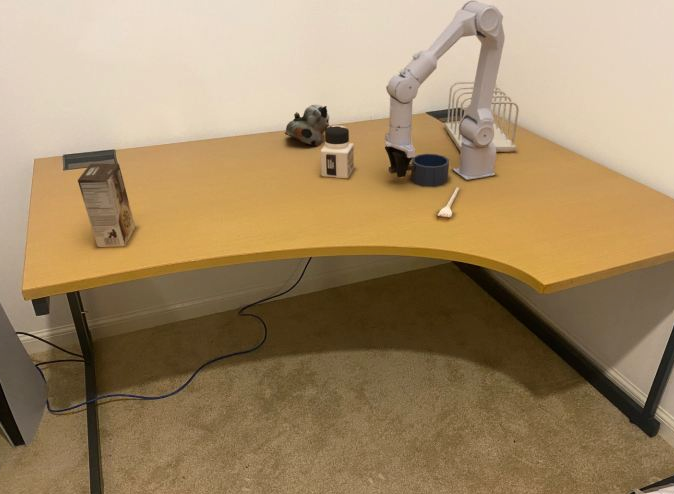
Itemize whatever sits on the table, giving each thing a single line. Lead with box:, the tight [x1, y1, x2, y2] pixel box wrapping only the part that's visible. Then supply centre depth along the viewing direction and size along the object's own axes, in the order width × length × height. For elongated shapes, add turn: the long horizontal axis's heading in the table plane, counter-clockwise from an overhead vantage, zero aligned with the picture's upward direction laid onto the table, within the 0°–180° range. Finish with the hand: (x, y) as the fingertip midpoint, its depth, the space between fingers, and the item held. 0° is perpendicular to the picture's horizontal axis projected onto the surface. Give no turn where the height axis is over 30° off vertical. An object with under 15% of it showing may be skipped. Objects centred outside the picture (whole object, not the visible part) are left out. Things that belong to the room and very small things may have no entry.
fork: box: [436, 186, 460, 218], centre depth 145 cm, size 3×20×2 cm, turn 161°
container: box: [320, 125, 355, 179], centre depth 159 cm, size 8×8×13 cm
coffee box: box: [77, 163, 136, 248], centre depth 126 cm, size 9×6×16 cm
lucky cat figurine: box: [284, 104, 330, 147], centre depth 182 cm, size 15×12×14 cm
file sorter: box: [444, 81, 520, 153], centre depth 182 cm, size 25×17×16 cm
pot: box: [388, 153, 450, 188], centre depth 157 cm, size 17×10×6 cm, turn 113°
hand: (398, 174), depth 155 cm, fingers open, 3 cm apart
